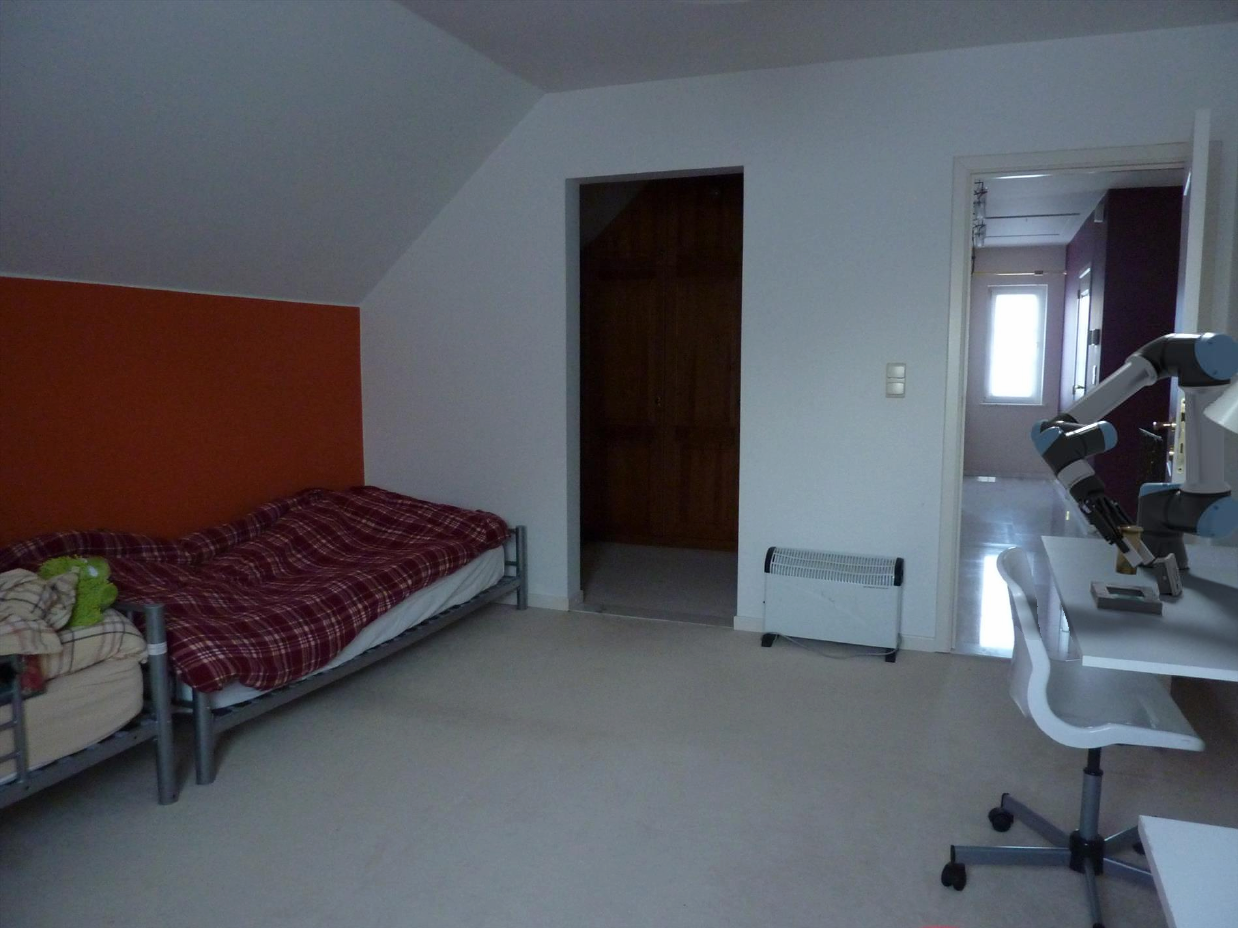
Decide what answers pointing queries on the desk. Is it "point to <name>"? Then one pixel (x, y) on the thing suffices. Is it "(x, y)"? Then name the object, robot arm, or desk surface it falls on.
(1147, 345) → the robot arm
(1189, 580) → the desk surface
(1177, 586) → the electrical switch
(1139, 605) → the rack plate
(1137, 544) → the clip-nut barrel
